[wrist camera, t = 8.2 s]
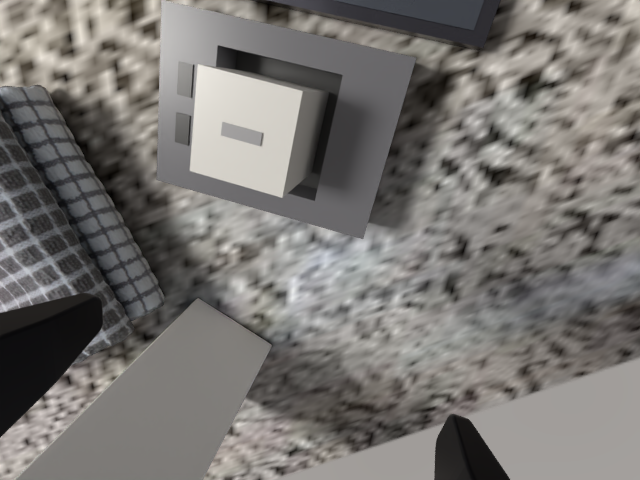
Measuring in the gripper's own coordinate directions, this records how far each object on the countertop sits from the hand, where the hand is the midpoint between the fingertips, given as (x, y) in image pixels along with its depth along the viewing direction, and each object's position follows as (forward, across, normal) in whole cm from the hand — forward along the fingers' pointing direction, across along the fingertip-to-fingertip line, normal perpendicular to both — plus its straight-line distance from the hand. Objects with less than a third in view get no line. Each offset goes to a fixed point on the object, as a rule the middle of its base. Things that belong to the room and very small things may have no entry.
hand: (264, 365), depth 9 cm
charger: (+12, +4, -4) cm, 13 cm away
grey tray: (+12, +4, -4) cm, 13 cm away
